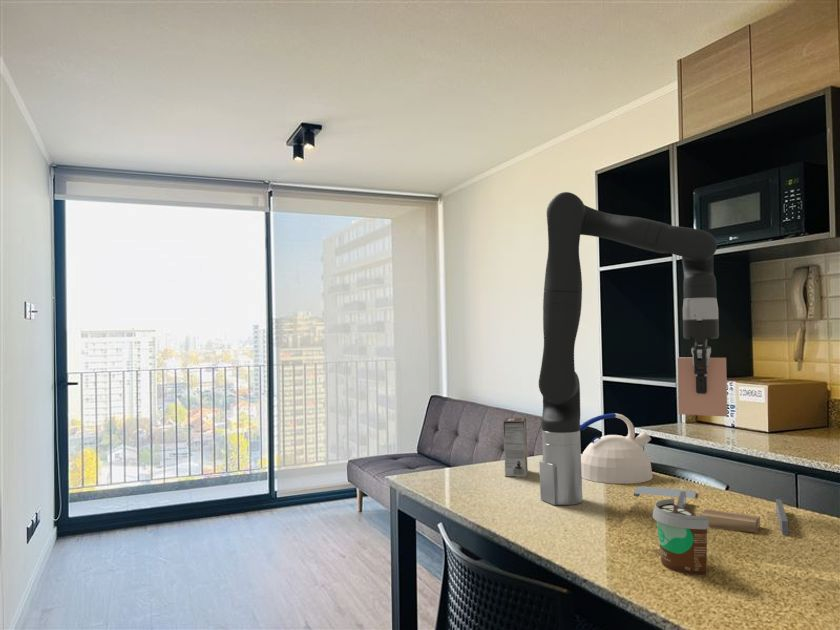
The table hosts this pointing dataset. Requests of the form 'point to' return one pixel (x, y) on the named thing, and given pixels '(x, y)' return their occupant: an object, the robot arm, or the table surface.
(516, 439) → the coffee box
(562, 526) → the table surface
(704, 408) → the tall sheet
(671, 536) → the food container
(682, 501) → the rack
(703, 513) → the offcut top
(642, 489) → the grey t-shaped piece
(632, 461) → the kettle
